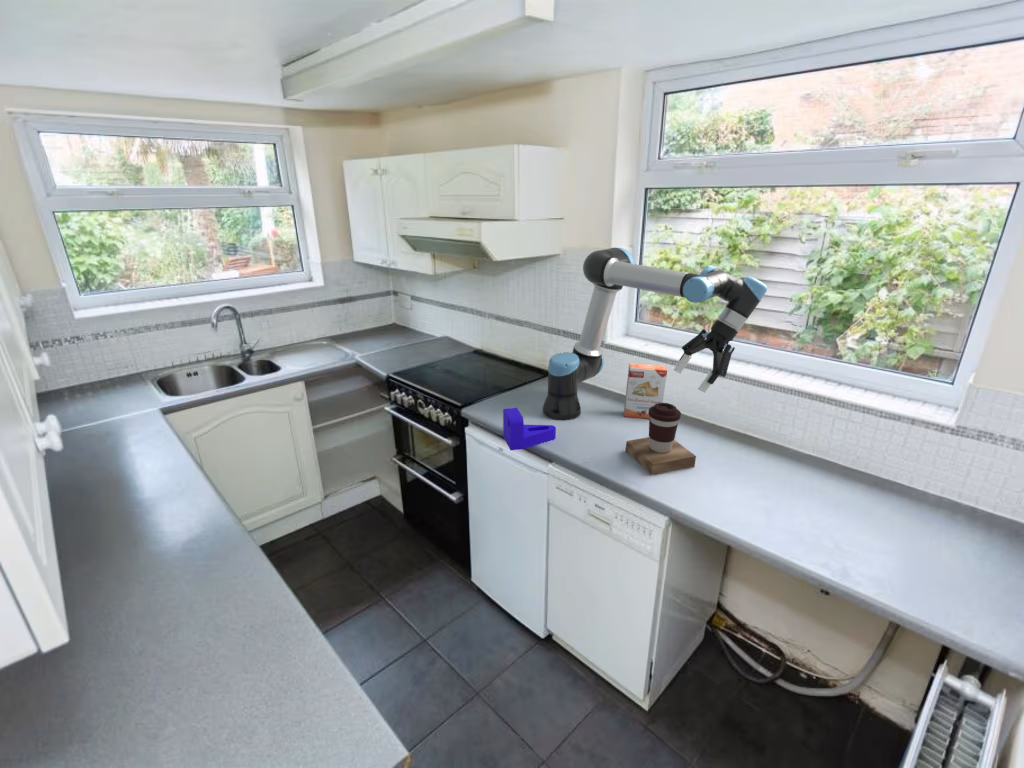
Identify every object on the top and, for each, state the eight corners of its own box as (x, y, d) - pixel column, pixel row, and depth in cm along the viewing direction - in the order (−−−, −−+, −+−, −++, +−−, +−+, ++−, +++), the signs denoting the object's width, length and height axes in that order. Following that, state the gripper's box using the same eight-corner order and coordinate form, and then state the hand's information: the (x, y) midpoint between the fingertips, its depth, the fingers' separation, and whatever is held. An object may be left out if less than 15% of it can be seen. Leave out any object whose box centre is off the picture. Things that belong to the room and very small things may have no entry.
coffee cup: (645, 454, 163) (650, 411, 157) (643, 439, 172) (648, 399, 166) (677, 456, 161) (683, 414, 156) (673, 442, 170) (679, 401, 165)
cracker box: (624, 417, 197) (629, 367, 190) (623, 411, 203) (628, 362, 195) (661, 420, 195) (667, 369, 187) (659, 414, 201) (665, 364, 193)
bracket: (510, 450, 173) (510, 419, 168) (503, 436, 183) (503, 406, 178) (560, 444, 177) (561, 414, 173) (550, 431, 187) (551, 401, 182)
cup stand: (625, 451, 173) (626, 440, 171) (665, 444, 177) (666, 434, 176) (651, 475, 158) (653, 464, 157) (694, 466, 163) (696, 456, 162)
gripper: (763, 344, 149) (720, 403, 155) (711, 315, 170) (675, 368, 176) (747, 335, 146) (704, 395, 152) (696, 306, 167) (660, 360, 173)
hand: (688, 381), depth 164 cm, fingers open, 13 cm apart
